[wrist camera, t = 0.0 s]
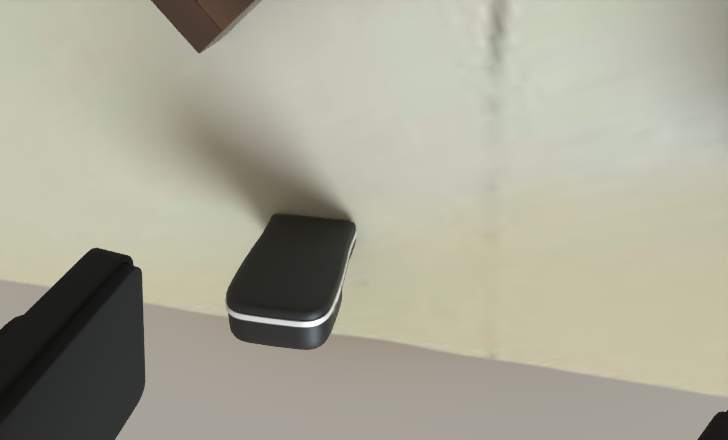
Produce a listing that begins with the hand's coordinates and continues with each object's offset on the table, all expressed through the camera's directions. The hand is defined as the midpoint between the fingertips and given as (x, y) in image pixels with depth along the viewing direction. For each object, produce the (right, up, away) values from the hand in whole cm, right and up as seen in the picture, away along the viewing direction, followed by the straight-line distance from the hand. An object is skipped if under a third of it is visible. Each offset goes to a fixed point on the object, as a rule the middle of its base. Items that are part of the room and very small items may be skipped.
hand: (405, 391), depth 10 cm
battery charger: (-4, +2, +37) cm, 37 cm away
